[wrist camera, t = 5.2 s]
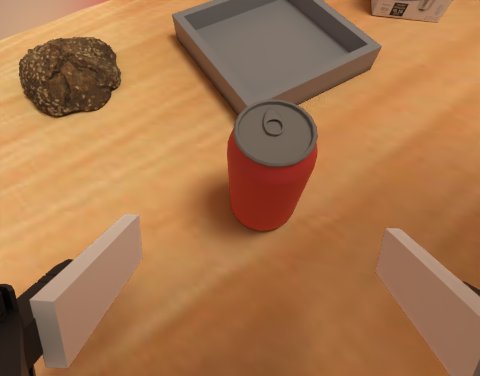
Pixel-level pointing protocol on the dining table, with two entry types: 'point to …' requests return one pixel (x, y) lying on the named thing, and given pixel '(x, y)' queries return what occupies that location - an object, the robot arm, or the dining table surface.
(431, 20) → the light bulb box
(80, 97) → the bread roll
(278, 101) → the beer can
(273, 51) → the tray
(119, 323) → the dining table surface
